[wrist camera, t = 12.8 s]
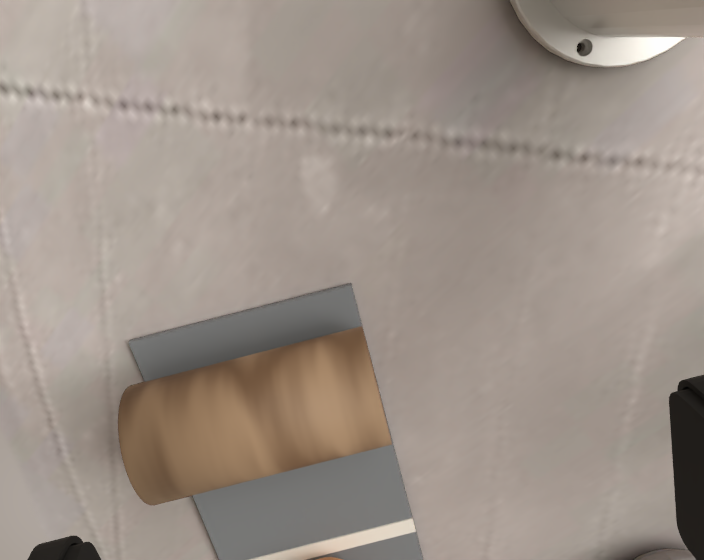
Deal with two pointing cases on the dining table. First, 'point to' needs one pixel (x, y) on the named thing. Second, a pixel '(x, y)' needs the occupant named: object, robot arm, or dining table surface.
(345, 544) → the throwing mat
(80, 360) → the dining table surface
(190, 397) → the brown cylinder
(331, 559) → the ball
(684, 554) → the coffee pot
